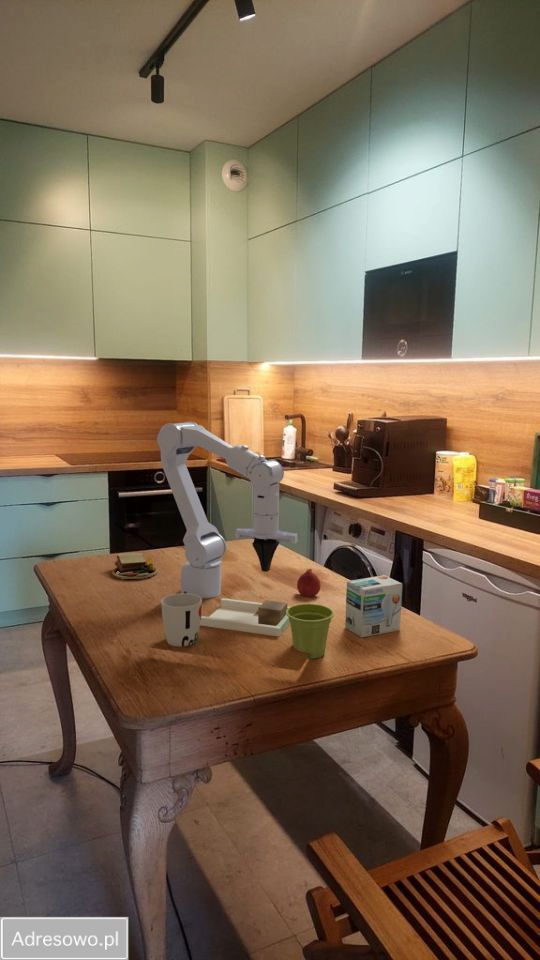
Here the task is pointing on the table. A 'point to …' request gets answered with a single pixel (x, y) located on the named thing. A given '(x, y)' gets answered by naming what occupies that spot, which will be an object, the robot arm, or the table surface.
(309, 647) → the plant pot
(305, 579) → the onion
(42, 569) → the table surface
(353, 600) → the light bulb box
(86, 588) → the table surface
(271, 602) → the block
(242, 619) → the tray
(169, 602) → the cup
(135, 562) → the toy sandwich meal
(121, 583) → the table surface
